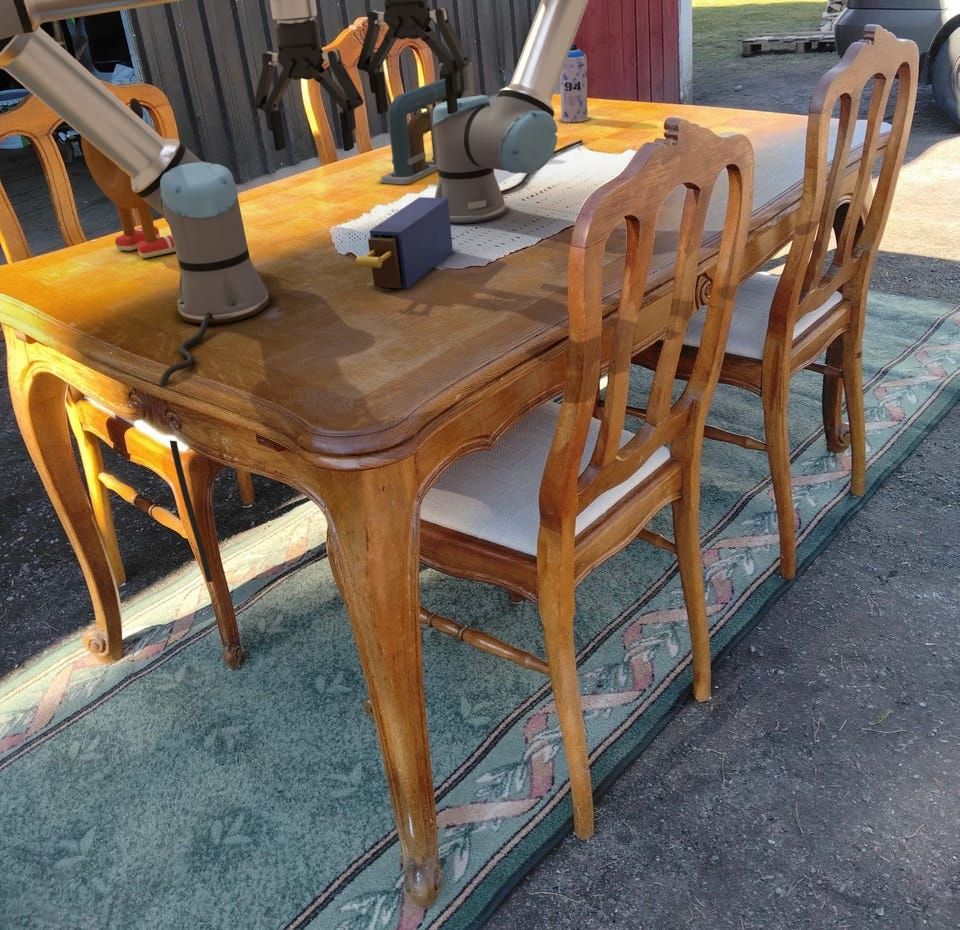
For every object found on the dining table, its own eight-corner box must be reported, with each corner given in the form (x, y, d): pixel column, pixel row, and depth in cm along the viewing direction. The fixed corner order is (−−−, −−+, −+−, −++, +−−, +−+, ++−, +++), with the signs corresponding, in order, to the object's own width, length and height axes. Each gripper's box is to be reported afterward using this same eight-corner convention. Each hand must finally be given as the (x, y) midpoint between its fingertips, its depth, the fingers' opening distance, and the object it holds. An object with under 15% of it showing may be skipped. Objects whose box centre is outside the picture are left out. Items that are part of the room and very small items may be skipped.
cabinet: (407, 289, 168) (400, 232, 163) (376, 286, 170) (369, 230, 165) (453, 251, 184) (448, 198, 179) (424, 249, 186) (419, 197, 181)
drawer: (383, 300, 162) (377, 251, 158) (359, 298, 163) (352, 249, 159) (443, 251, 181) (439, 207, 177) (420, 250, 183) (415, 206, 179)
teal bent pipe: (408, 184, 228) (397, 89, 217) (377, 182, 232) (365, 88, 221) (478, 149, 254) (472, 62, 243) (450, 148, 258) (442, 62, 247)
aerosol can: (559, 122, 275) (557, 47, 265) (562, 117, 282) (559, 42, 272) (587, 121, 274) (585, 45, 263) (589, 115, 280) (587, 41, 270)
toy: (200, 249, 196) (164, 94, 181) (155, 264, 190) (115, 104, 175) (145, 233, 209) (108, 87, 194) (102, 246, 203) (60, 96, 188)
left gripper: (372, 15, 163) (386, 144, 173) (241, 20, 170) (262, 144, 180) (354, 20, 156) (370, 154, 167) (219, 25, 164) (243, 153, 174)
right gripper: (482, -29, 157) (491, 107, 168) (348, -22, 166) (364, 107, 177) (465, -25, 151) (475, 117, 162) (326, -18, 160) (344, 116, 171)
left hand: (314, 149), depth 174 cm, fingers open, 13 cm apart
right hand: (417, 112), depth 169 cm, fingers open, 13 cm apart
